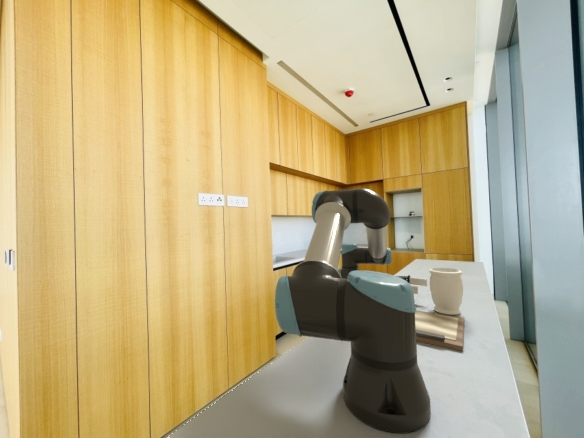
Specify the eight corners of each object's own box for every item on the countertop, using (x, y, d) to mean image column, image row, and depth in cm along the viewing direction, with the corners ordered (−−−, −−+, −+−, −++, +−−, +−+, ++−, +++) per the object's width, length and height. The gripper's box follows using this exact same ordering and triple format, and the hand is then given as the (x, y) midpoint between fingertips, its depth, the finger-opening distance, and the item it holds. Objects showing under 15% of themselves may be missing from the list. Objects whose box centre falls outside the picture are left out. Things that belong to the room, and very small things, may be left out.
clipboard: (462, 351, 62) (462, 342, 62) (395, 336, 71) (395, 328, 72) (464, 321, 80) (463, 314, 80) (410, 312, 89) (410, 306, 89)
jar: (463, 318, 82) (461, 273, 83) (428, 312, 89) (426, 271, 89) (464, 309, 91) (463, 268, 91) (433, 304, 97) (431, 266, 97)
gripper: (381, 282, 119) (430, 289, 105) (357, 294, 100) (413, 304, 86) (380, 266, 119) (429, 271, 105) (356, 275, 100) (412, 282, 86)
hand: (422, 286), depth 95 cm, fingers open, 13 cm apart
